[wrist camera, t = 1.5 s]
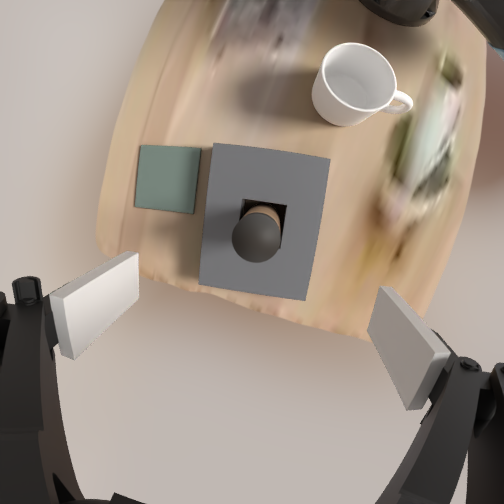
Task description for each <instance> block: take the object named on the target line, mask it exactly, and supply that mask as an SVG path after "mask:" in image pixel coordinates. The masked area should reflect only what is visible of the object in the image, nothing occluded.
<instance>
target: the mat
mask: <svg viewBox="0 0 504 504" xmlns="http://www.w3.org/2000/svg"><path fill="white" fill-rule="evenodd" d="M200 155H201V148H192V147H176V146H155V145H141V149H140V158H139V167H138V176H137V187H136V200H135V207H141V208H150V209H158V210H167V211H175V212H183V213H191V214H194V206H195V197H196V188H197V179H198V171H199V163H200Z"/></svg>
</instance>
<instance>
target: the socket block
mask: <svg viewBox="0 0 504 504" xmlns="http://www.w3.org/2000/svg"><path fill="white" fill-rule="evenodd" d="M329 166H330V159H327V158H322V157H316V156H311V155H305V154H299V153H293V152H286V151H279V150H272V149H265V148H257V147H249V146H240V145H230V144H220V143H213V150H212V157H211V165H210V173H209V181H208V189H207V198H206V207H205V217H204V226H203V236H202V247H201V259H200V271H199V283H198V284H199V285H205V286H211V287H217V288H223V289H229V290H235V291H241V292H248V293H254V294H260V295H267V296H274V297H280V298H287V299H294V300H302V301H305V300H306V295H307V290H308V285H309V281H310V276H311V271H312V266H313V261H314V256H315V250H316V245H317V240H318V234H319V229H320V223H321V217H322V211H323V205H324V199H325V193H326V186H327V179H328V173H329ZM245 199H249V200H257V201H264V202H270V203H277V204H284V205H286V207H285V213H284V220H283V226H282V233H281V241H280V246H279V249H278V251H277V252H276V254H275V255H274V256H273V257H272V258H271V259H269V260H267V261H265V262H261V263H252V262H248V261H246V260H244V259H242V258H241V257H240V256H239V255H238V254H237V253H236V251H235V250H234V248H233V245H232V232H233V229H234V227H235V226H236V224H237V223H238V222H239V221H240V220H241V219H242V217H243V212H244V205H245Z"/></svg>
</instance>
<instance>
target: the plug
mask: <svg viewBox="0 0 504 504" xmlns="http://www.w3.org/2000/svg"><path fill="white" fill-rule="evenodd" d="M280 241H281V238H280V218H279V214H278V211H277V210H276V209H275V208H274V207H273V206H272V205H270V204H268V203H258V204H256V205H254V206H253V207H251V208H250V210H249V211H248V212H247V213H246V214H245V215H244V216H243V217H242V219H241V220H240V221H239V222H238V223H237V224H236V226H235V227H234V229H233V232H232V245H233V248H234V250H235V251H236V253H237V254H238V255H239V256H240V257H241V258H242V259H244V260H246V261H248V262H252V263H261V262H265V261H267V260H269V259H271V258H272V257H273V256H274V255H275V254H276V252H277V251H278V249H279V246H280Z"/></svg>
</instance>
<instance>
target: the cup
mask: <svg viewBox="0 0 504 504" xmlns="http://www.w3.org/2000/svg"><path fill="white" fill-rule="evenodd" d="M396 86H397V85H396V77H395V74H394V71H393V69H392V67H391V65H390V64H389V62H388V61H387V60H386V59H385V57H384V56H382V55H381V54H380V53H379V52H378V51H376V50H375V49H373V48H371V47H369V46H366V45H363V44H359V43H343V44H339V45H337V46H335V47H333V48H332V49H330V50H329V51H328V52H327V53H326V55H325V57H324V58H323V61H322V64H321V66H320V69H319V71H318V74H317V76H316V79H315V82H314V84H313V87H312V101H313V105H314V107H315V109H316V111H317V112H318V113H319V114H320V116H321V117H322V118H324V119H325V120H326V121H328V122H330V123H332V124H334V125H338V126H353V125H356V124H359V123H361V122H362V121H364V120H365V119H367V118H368V117H370V116H372V115H373V114H375V113H376V112H378V111H381V112H385V113H391V114H401V113H405V112H407V111H409V110H410V109H411V108H412V106H413V101H412V99H411V98H410V97H409V96H408V95H407V94H405V93H403V92H401V91H398V90H396ZM392 99H393V100H396V101H399V102H402V103H404V104H402V105H400V106H392V105H388V104H389V103H390V102H391V101H392Z"/></svg>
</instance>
